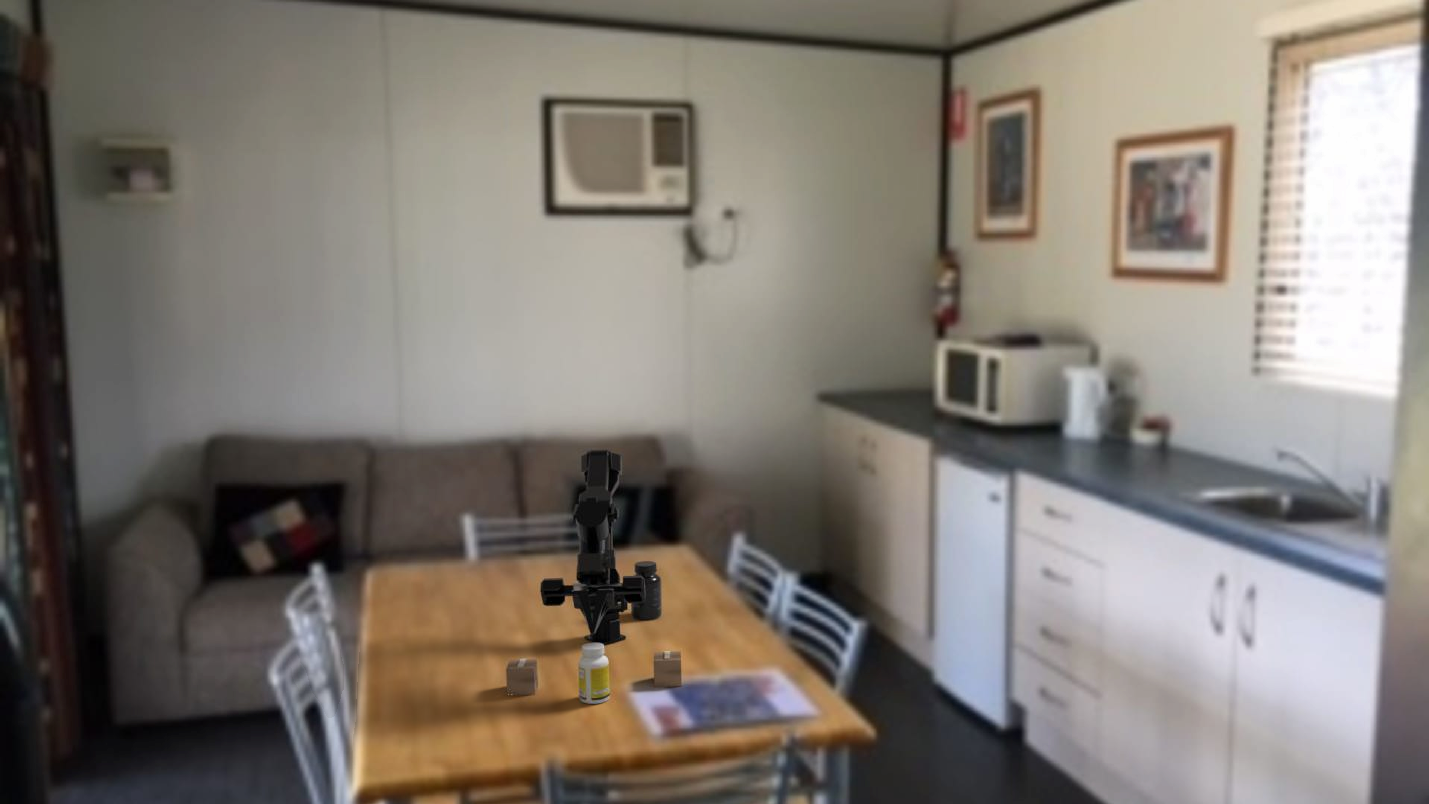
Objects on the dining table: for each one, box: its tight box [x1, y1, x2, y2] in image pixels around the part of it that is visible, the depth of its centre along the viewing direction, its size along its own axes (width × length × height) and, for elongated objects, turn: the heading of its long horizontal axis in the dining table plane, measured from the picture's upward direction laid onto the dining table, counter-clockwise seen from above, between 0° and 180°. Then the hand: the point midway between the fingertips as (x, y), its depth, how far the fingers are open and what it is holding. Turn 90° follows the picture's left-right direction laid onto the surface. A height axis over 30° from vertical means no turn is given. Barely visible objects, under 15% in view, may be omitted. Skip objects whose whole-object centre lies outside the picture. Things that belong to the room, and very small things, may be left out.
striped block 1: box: [505, 658, 539, 696], centre depth 210 cm, size 5×5×5 cm
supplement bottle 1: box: [577, 642, 611, 705], centre depth 205 cm, size 5×5×10 cm
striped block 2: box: [653, 650, 683, 688], centre depth 213 cm, size 5×5×5 cm
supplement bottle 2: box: [630, 560, 663, 621], centre depth 254 cm, size 7×7×12 cm
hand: (592, 633), depth 204 cm, fingers closed
